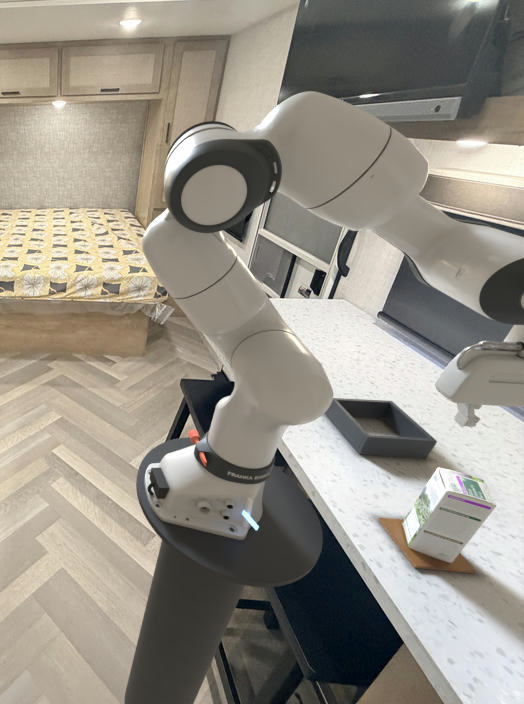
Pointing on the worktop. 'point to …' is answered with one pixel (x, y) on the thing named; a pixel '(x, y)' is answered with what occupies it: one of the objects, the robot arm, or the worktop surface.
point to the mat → (420, 559)
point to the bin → (407, 445)
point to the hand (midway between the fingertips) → (498, 426)
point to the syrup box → (447, 514)
